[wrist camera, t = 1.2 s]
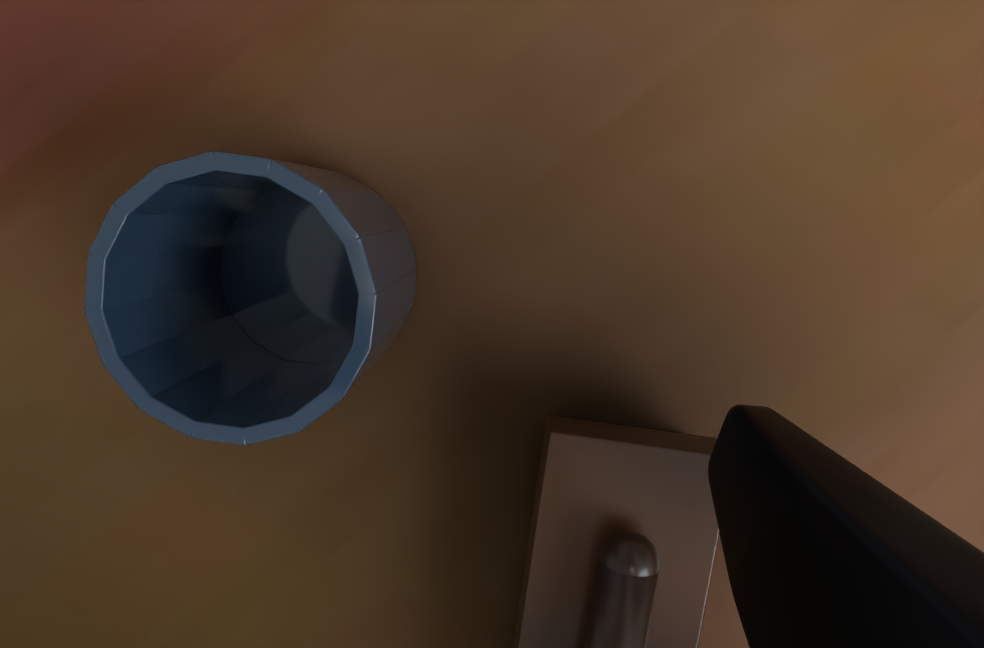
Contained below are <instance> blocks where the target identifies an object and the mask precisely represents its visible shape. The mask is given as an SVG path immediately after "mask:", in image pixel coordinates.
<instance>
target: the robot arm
mask: <svg viewBox="0 0 984 648" xmlns="http://www.w3.org/2000/svg"><path fill="white" fill-rule="evenodd" d="M708 479H709V485H710V490H711V495H712V499H713V504H714V509H715V514H716V518H717V523H718V528H719V533H720V538H721V542H722V547H723V552H724V557H725V561H726V566H727V571H728V576H729V580H730V584H731V588H732V592H733V596H734V600H735V603H736V606H737V610H738V613H739V616H740V619H741V622H742V626H743V629H744V632H745V635H746V638H747V641H748V644H749V647H750V648H984V553H983V552H982V551H980V550H979V549H977V548H976V547H974V546H973V545H971V544H970V543H969V542H967V541H966V540H964V539H963V538H961V537H960V536H958V535H957V534H955V533H954V532H952V531H951V530H949V529H948V528H946V527H945V526H943V525H942V524H940V523H939V522H938V521H936V520H935V519H933V518H932V517H930V516H929V515H927V514H926V513H924V512H923V511H921V510H920V509H918V508H917V507H915V506H914V505H912V504H911V503H910V502H908V501H907V500H905V499H904V498H902V497H901V496H899V495H898V494H896V493H895V492H893V491H892V490H890V489H889V488H887V487H886V486H884V485H883V484H881V483H880V482H879V481H877V480H876V479H874V478H873V477H871V476H870V475H868V474H867V473H865V472H864V471H862V470H861V469H859V468H858V467H856V466H855V465H853V464H852V463H850V462H849V461H848V460H846V459H845V458H843V457H842V456H840V455H839V454H837V453H836V452H834V451H833V450H831V449H830V448H828V447H827V446H825V445H824V444H822V443H821V442H820V441H818V440H817V439H815V438H814V437H812V436H811V435H809V434H808V433H806V432H805V431H803V430H802V429H800V428H799V427H797V426H796V425H794V424H793V423H791V422H790V421H789V420H787V419H786V418H784V417H783V416H781V415H780V414H778V413H777V412H775V411H774V410H772V409H770V408H768V407H763V406H751V405H736V406H734V407H732V408H731V409H730V410H729V411H728V413H727V415H726V417H725V420H724V423H723V425H722V428H721V430H720V433H719V436H718V438H717V441H716V443H715V446H714V449H713V451H712V454H711V456H710V460H709V465H708Z"/></svg>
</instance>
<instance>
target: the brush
mask: <svg viewBox="0 0 984 648" xmlns="http://www.w3.org/2000/svg"><path fill="white" fill-rule="evenodd" d="M716 441H717V439H716V438H712V437H704V436H697V435H690V434H683V433H675V432H668V431H661V430H653V429H646V428H639V427H632V426H624V425H617V424H610V423H602V422H595V421H588V420H581V419H573V418H566V417H559V416H552V415H549V416H548V417H547V420H546V427H545V433H544V440H543V447H542V453H541V460H540V467H539V473H538V480H537V487H536V494H535V500H534V507H533V514H532V520H531V527H530V534H529V540H528V547H527V554H526V561H525V567H524V574H523V581H522V587H521V594H520V601H519V607H518V614H517V621H516V628H515V634H514V641H513V648H698V644H699V639H700V633H701V628H702V623H703V618H704V612H705V607H706V602H707V596H708V591H709V586H710V580H711V575H712V570H713V564H714V559H715V554H716V548H717V543H718V538H719V528H718V523H717V518H716V514H715V509H714V504H713V499H712V495H711V490H710V485H709V479H708V465H709V460H710V456H711V454H712V451H713V449H714V446H715V443H716Z"/></svg>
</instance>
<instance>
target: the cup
mask: <svg viewBox="0 0 984 648" xmlns="http://www.w3.org/2000/svg"><path fill="white" fill-rule="evenodd" d="M416 280H417V269H416V259H415V254H414V249H413V245H412V243H411V240H410V237H409V234H408V232H407V230H406V228H405V226H404V224H403V222H402V221H401V219H400V218H399V216H398V215H397V213H396V212H395V210H394V209H393V208H392V207H391V206H390V205H389V204H388V202H387V201H386V200H385V199H383V198H382V197H381V196H380V195H379V194H378V193H377V192H375V191H374V190H372V189H371V188H370V187H368V186H367V185H365V184H363V183H361V182H359V181H357V180H355V179H353V178H351V177H349V176H347V175H345V174H343V173H341V172H336V171H331V170H326V169H321V168H316V167H311V166H306V165H301V164H295V163H290V162H285V161H280V160H275V159H270V158H263V157H256V156H248V155H241V154H234V153H226V152H219V151H214V152H212V151H210V152H207V153H203V154H200V155H196V156H192V157H189V158H185V159H182V160H178V161H175V162H171V163H167V164H164V165H160V166H158V167H156V168H155V169H153V170H152V171H151V172H150V173H149V174H147V175H146V176H145V177H144V178H142V179H141V180H140V181H139V182H138V183H136V184H135V185H134V186H133V187H132V188H130V189H129V190H128V191H127V192H126V193H124V194H123V195H122V196H121V197H119V198H118V199H117V200H116V201H115V202H114V204H113V205H112V206H111V208H110V210H109V212H108V214H107V216H106V218H105V220H104V222H103V224H102V226H101V228H100V230H99V232H98V234H97V236H96V238H95V240H94V242H93V244H92V246H91V248H90V250H89V254H88V258H87V275H86V293H85V310H86V311H85V314H86V317H87V320H88V323H89V326H90V329H91V332H92V335H93V338H94V340H95V343H96V346H97V349H98V352H99V355H100V358H101V361H102V364H103V365H104V367H105V369H106V370H107V371H108V372H109V373H110V374H111V376H112V377H113V378H114V379H115V380H116V382H117V383H118V384H119V385H120V386H121V388H122V389H123V390H124V391H125V392H126V394H127V395H128V396H129V397H130V398H131V400H132V401H133V402H134V403H135V404H136V406H137V407H138V408H139V409H141V410H142V411H143V412H145V413H147V414H149V415H150V416H152V417H154V418H156V419H158V420H159V421H161V422H163V423H165V424H167V425H168V426H170V427H172V428H174V429H176V430H177V431H179V432H181V433H183V434H185V435H186V436H188V437H191V438H196V439H204V440H211V441H218V442H225V443H233V444H240V445H250V444H253V443H257V442H261V441H265V440H269V439H273V438H277V437H281V436H285V435H289V434H293V433H297V432H299V431H301V430H303V429H304V428H305V427H307V426H308V425H309V424H311V423H312V422H313V421H315V420H316V419H317V418H319V417H320V416H321V415H323V414H324V413H325V412H327V411H328V410H329V409H331V408H332V407H333V406H335V405H336V404H337V403H338V402H340V401H341V400H342V399H343V398H344V397H345V396H346V395H347V394H348V392H349V391H350V390H351V389H352V388H353V387H354V386H355V384H356V383H357V382H358V381H359V380H360V379H361V378H362V377H363V375H364V374H365V373H366V372H367V371H368V370H369V369H370V367H371V366H372V365H373V364H374V363H375V362H376V361H377V360H378V358H379V357H380V356H381V355H382V354H383V353H384V352H385V350H386V349H387V348H388V347H389V346H390V345H391V344H392V342H393V341H394V339H395V337H396V335H397V334H398V332H399V331H400V329H401V328H402V326H403V325H404V323H405V321H406V319H407V317H408V315H409V313H410V311H411V308H412V304H413V300H414V296H415V290H416Z"/></svg>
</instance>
